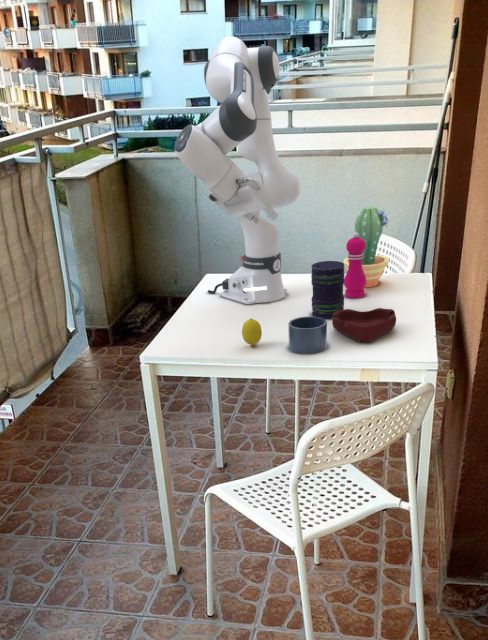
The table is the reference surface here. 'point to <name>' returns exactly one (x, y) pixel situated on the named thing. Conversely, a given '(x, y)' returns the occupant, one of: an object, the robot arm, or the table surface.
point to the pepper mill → (355, 268)
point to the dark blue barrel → (327, 288)
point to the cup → (307, 335)
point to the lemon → (251, 332)
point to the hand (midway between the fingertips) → (265, 220)
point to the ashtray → (364, 323)
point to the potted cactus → (371, 243)
